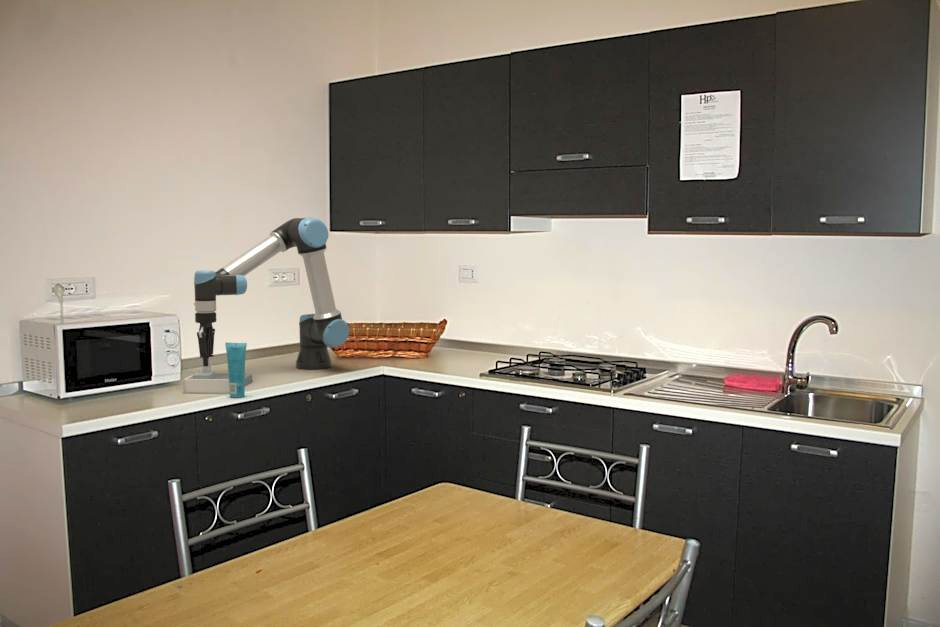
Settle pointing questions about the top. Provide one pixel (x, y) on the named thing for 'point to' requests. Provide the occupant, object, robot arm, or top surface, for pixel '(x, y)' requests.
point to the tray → (205, 385)
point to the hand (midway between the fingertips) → (207, 374)
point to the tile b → (204, 375)
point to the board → (226, 376)
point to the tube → (236, 368)
